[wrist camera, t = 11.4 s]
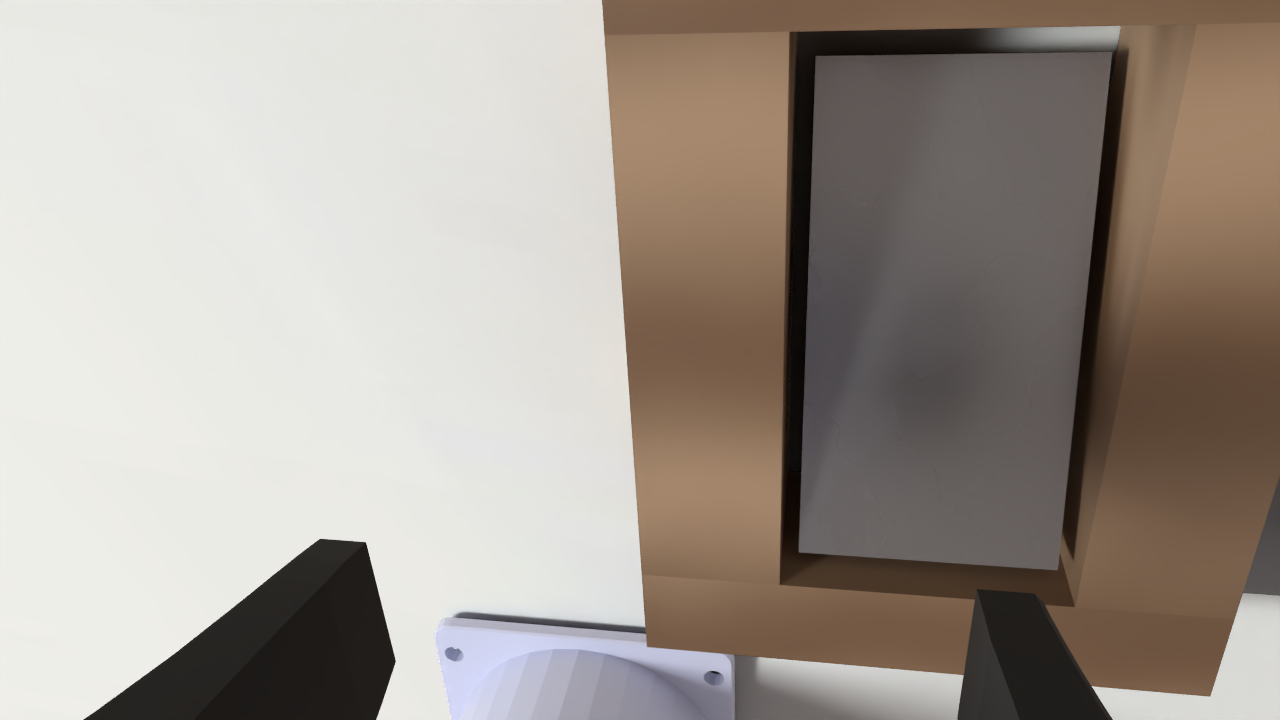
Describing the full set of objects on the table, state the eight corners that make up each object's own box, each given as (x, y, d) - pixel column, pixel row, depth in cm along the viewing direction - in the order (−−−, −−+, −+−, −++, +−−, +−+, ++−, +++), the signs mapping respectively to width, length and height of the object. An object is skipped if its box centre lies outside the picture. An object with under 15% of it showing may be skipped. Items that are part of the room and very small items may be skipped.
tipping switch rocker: (816, 56, 18) (815, 55, 18) (1105, 52, 17) (1112, 51, 17) (799, 543, 20) (798, 552, 20) (1053, 560, 19) (1058, 570, 19)
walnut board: (640, -133, 18) (594, -112, 14) (1344, -166, 16) (1476, -151, 12) (672, 532, 25) (647, 647, 21) (1157, 565, 23) (1210, 696, 20)
